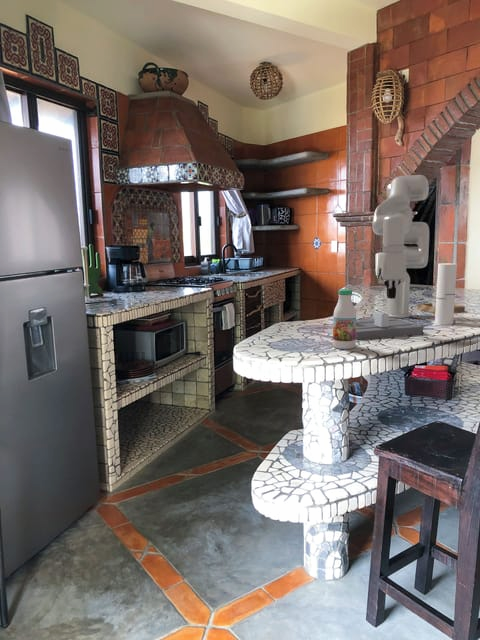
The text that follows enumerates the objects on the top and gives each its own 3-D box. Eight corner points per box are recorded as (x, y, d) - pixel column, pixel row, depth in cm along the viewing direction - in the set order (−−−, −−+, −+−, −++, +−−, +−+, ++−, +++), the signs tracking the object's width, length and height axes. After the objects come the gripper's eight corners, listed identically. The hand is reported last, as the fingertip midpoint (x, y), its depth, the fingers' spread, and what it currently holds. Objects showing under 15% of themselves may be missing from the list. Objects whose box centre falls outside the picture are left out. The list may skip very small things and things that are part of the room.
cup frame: (417, 308, 233) (417, 304, 232) (443, 307, 237) (443, 302, 236) (437, 313, 219) (437, 308, 218) (464, 311, 222) (464, 306, 222)
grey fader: (374, 324, 180) (374, 311, 179) (381, 324, 181) (381, 311, 180) (381, 327, 175) (381, 313, 174) (388, 326, 176) (388, 313, 175)
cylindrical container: (455, 325, 193) (459, 264, 188) (436, 324, 195) (440, 264, 190) (450, 321, 200) (454, 263, 195) (433, 321, 201) (436, 263, 197)
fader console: (333, 329, 189) (333, 322, 189) (394, 324, 196) (394, 317, 195) (356, 339, 171) (356, 331, 171) (422, 334, 178) (423, 326, 177)
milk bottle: (330, 344, 165) (330, 288, 161) (351, 343, 165) (352, 287, 162) (336, 350, 157) (337, 291, 153) (358, 349, 158) (360, 290, 154)
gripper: (404, 248, 179) (402, 295, 183) (369, 250, 175) (368, 298, 179) (416, 249, 172) (414, 298, 176) (380, 251, 168) (378, 301, 172)
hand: (391, 298), depth 177 cm, fingers closed
